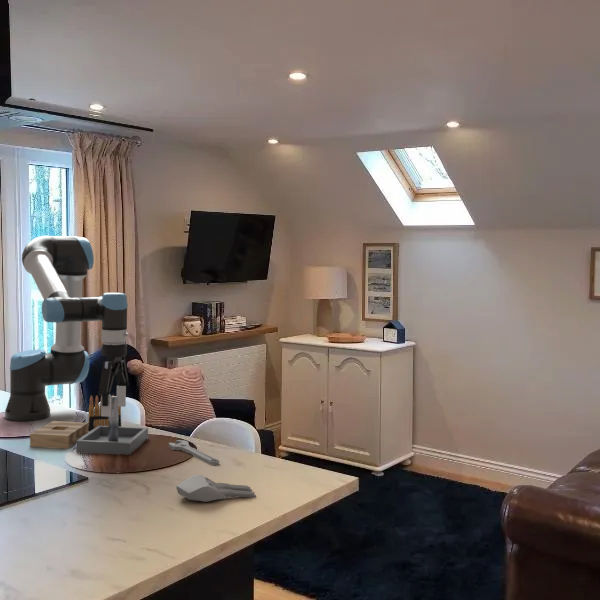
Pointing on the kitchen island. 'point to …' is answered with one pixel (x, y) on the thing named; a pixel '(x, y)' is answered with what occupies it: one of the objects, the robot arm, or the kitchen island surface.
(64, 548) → the kitchen island surface
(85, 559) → the kitchen island surface
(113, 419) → the pin
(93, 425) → the ammunition clip
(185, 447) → the adjustable wrench
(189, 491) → the turret
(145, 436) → the tray
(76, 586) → the kitchen island surface
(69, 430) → the tan board with hole
